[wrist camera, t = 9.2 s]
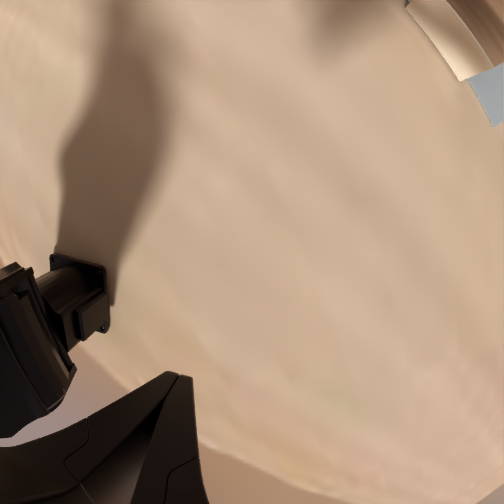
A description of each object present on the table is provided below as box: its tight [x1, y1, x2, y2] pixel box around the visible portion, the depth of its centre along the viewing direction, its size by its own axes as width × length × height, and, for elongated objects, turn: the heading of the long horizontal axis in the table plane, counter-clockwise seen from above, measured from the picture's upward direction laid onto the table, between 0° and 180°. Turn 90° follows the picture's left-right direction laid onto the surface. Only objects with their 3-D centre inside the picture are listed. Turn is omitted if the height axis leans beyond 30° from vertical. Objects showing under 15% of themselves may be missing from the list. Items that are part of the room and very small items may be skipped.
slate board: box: [408, 0, 504, 127], centre depth 12 cm, size 16×16×1 cm
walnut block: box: [405, 0, 504, 81], centre depth 11 cm, size 4×7×10 cm
